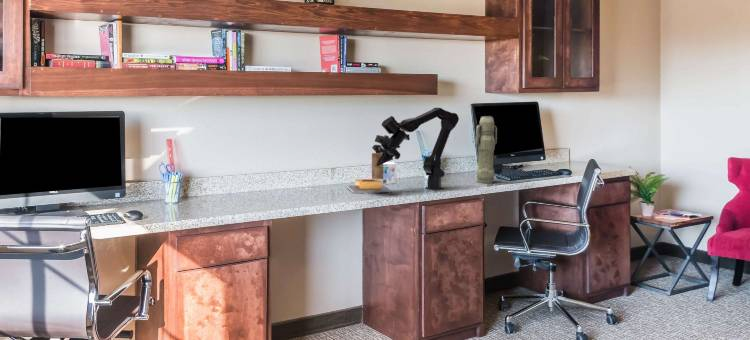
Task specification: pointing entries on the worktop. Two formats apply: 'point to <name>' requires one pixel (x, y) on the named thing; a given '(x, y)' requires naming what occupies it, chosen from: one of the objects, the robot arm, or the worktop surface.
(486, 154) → the stone statue
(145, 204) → the worktop surface
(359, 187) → the square socket
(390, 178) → the light bulb box
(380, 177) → the tan square block
